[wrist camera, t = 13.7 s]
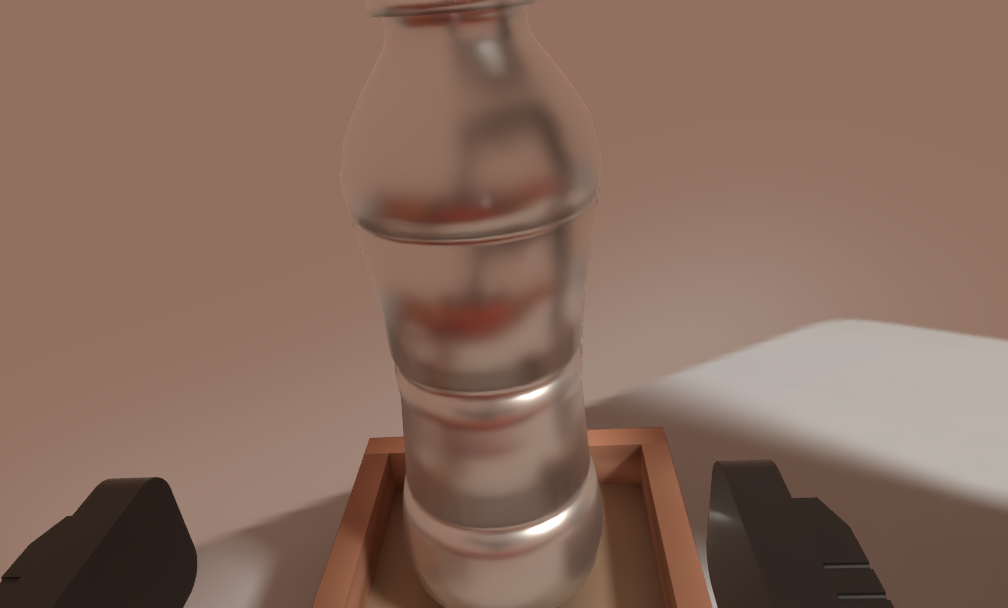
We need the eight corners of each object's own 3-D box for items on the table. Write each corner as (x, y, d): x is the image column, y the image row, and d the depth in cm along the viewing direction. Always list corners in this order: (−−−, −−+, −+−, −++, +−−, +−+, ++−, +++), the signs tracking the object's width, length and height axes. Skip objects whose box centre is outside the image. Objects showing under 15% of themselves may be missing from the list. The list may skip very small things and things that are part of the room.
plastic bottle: (403, 527, 26) (286, -63, 16) (569, 487, 27) (547, -82, 18) (428, 681, 20) (271, -83, 11) (636, 621, 21) (654, -110, 12)
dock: (659, 518, 29) (663, 427, 27) (706, 731, 21) (718, 628, 19) (389, 525, 30) (369, 438, 27) (336, 733, 22) (303, 634, 20)
